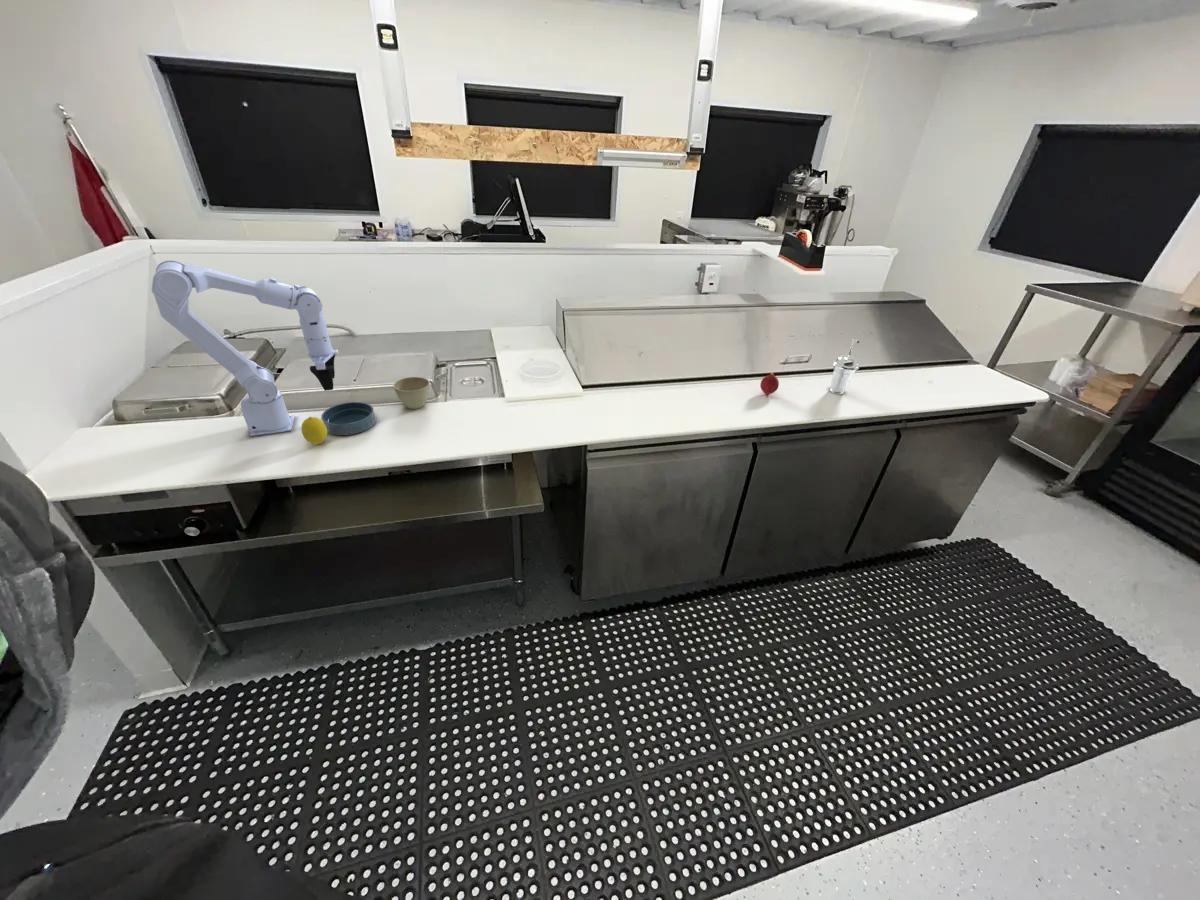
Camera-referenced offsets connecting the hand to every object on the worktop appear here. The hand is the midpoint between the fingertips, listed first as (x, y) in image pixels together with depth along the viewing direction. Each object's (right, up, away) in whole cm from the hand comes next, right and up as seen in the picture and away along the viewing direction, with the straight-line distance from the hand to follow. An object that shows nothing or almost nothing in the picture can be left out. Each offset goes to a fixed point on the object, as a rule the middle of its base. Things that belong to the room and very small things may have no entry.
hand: (329, 383), depth 134 cm
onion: (+131, 0, +30) cm, 135 cm away
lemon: (+2, -17, -8) cm, 19 cm away
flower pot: (+19, -5, +12) cm, 23 cm away
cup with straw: (+157, +2, +35) cm, 161 cm away
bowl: (+6, -11, +1) cm, 13 cm away
